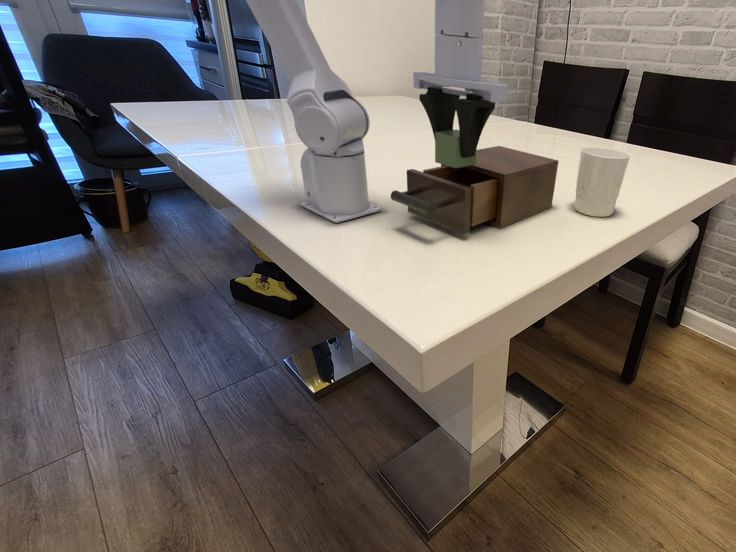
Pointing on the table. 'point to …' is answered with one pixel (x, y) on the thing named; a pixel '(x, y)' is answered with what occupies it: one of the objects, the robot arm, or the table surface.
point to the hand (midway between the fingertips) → (455, 153)
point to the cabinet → (517, 182)
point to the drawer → (451, 197)
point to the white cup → (599, 180)
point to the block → (450, 150)
